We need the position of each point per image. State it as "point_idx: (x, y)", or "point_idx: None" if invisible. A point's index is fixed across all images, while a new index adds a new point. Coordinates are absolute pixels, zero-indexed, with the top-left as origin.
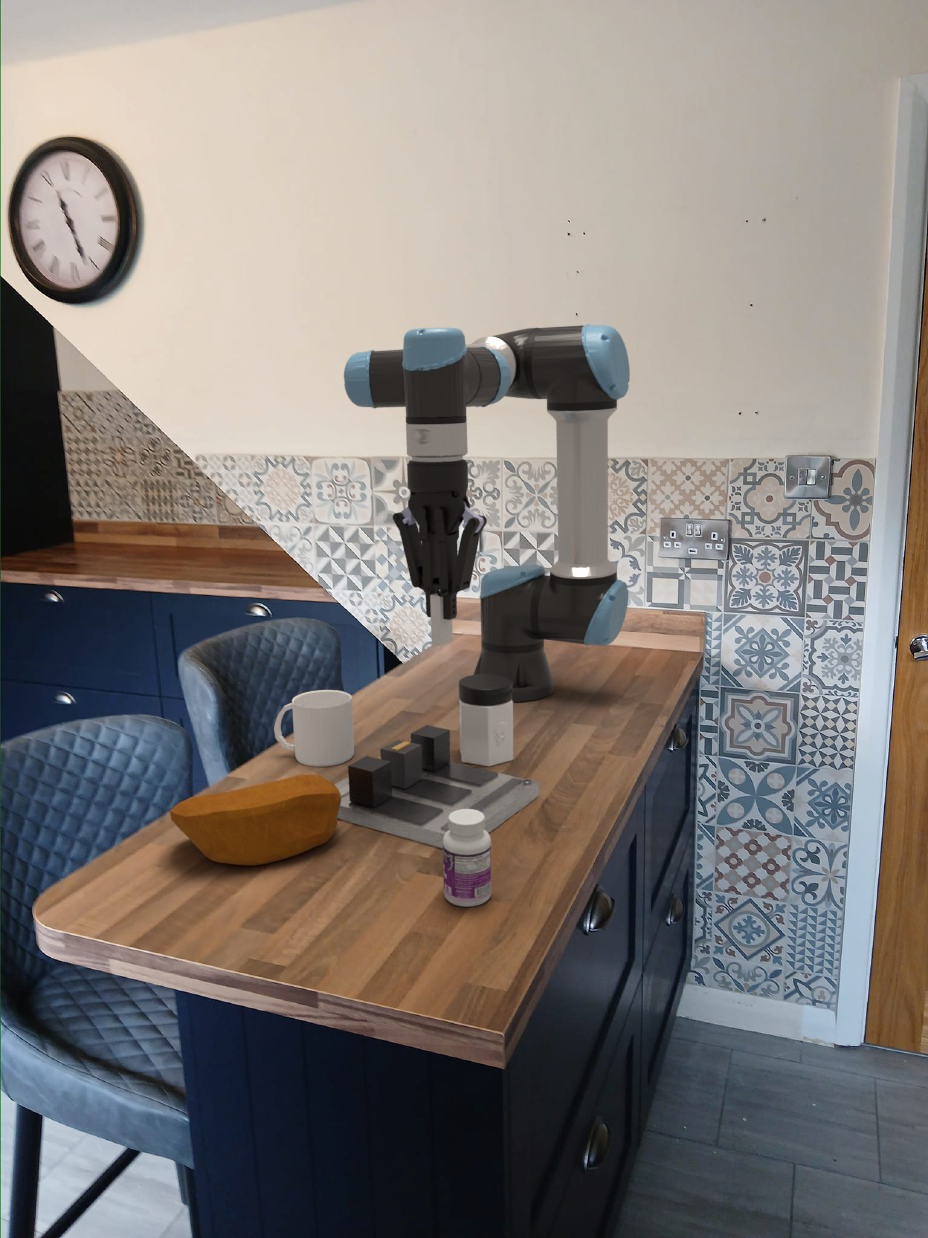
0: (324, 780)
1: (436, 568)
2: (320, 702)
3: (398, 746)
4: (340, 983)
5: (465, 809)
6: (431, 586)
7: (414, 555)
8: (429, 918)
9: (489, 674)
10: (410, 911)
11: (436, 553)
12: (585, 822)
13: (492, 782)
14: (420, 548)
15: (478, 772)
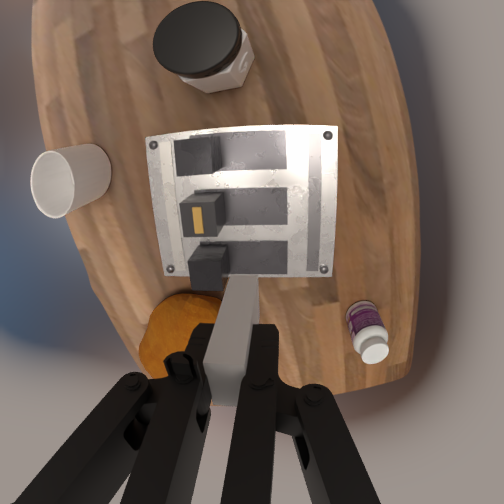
0: (200, 321)
1: (190, 452)
2: (43, 164)
3: (197, 224)
4: (334, 390)
5: (370, 347)
6: (208, 421)
7: (117, 483)
8: (349, 341)
9: (179, 9)
10: (335, 341)
11: (177, 502)
12: (398, 163)
13: (292, 152)
14: (87, 480)
15: (265, 140)
